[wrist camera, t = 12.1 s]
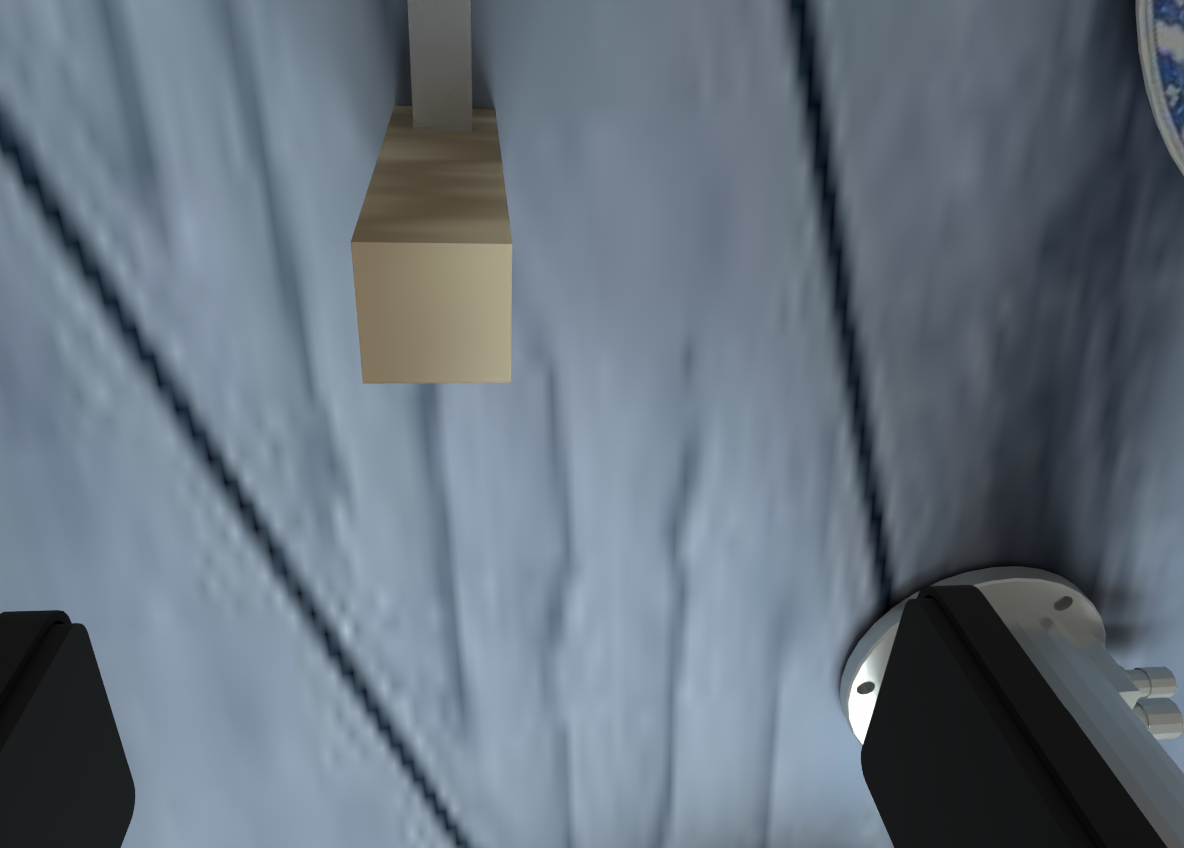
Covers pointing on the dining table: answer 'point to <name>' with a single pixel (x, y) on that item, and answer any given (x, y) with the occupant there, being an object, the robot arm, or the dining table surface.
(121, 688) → the dining table surface
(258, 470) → the dining table surface
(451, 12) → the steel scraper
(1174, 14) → the ceramic plate
